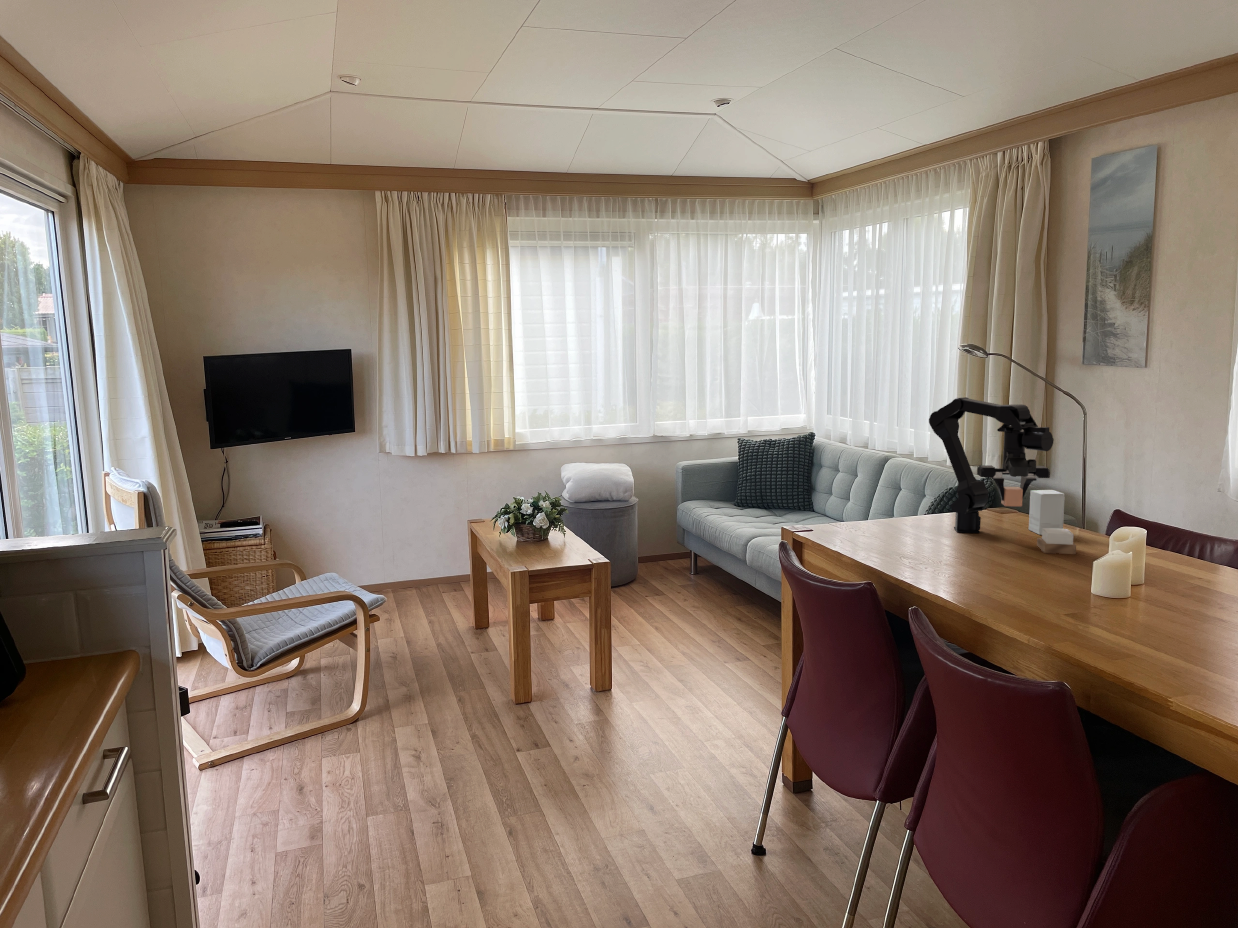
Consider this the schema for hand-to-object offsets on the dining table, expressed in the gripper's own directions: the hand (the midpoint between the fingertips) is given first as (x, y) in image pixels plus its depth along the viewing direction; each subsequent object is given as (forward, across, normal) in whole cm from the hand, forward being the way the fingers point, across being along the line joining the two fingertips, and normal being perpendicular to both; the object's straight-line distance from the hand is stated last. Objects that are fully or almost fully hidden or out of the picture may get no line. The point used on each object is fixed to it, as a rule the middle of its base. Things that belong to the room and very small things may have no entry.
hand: (1011, 500), depth 252 cm
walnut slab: (+12, +10, -11) cm, 19 cm away
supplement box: (+12, +13, +12) cm, 21 cm away
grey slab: (+9, +10, -11) cm, 17 cm away
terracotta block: (+1, 0, 0) cm, 1 cm away
